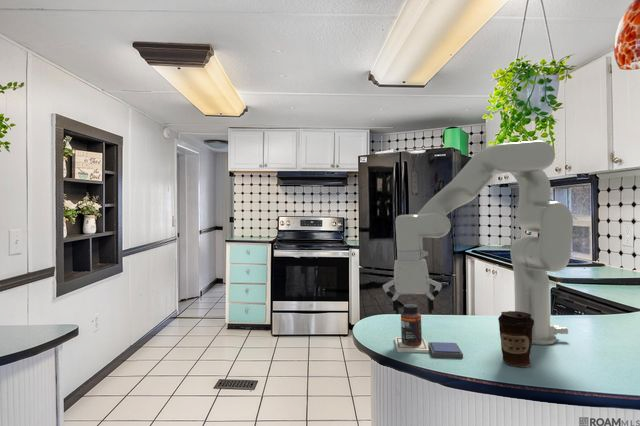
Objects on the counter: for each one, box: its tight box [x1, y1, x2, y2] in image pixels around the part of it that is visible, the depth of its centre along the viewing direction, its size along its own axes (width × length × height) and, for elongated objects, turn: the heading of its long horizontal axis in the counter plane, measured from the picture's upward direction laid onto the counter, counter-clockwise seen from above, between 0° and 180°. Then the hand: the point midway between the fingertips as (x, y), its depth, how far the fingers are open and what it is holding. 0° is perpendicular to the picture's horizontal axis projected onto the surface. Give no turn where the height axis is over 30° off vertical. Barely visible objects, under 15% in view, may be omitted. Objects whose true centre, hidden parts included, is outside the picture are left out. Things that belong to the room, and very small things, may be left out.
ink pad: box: [427, 341, 464, 359], centre depth 104 cm, size 8×8×2 cm
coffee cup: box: [497, 310, 534, 368], centre depth 95 cm, size 9×8×13 cm
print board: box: [394, 336, 430, 354], centre depth 109 cm, size 9×10×1 cm
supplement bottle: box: [400, 303, 423, 346], centre depth 109 cm, size 6×6×11 cm
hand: (413, 312), depth 109 cm, fingers open, 9 cm apart
